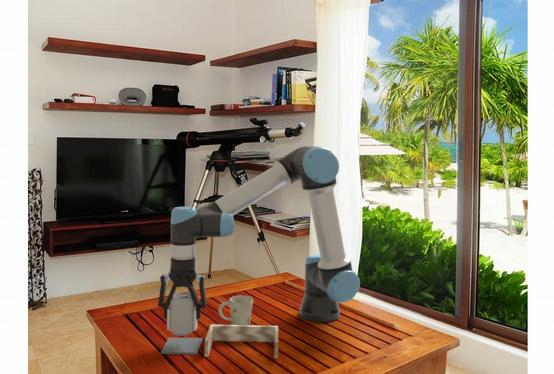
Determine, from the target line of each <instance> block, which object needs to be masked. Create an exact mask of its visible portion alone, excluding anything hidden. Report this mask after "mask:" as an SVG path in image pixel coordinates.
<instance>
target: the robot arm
mask: <svg viewBox="0 0 554 374" xmlns="http://www.w3.org/2000/svg"><path fill="white" fill-rule="evenodd" d="M339 170H340V163H339V158H338V157H337V156H336V154H335V153H334V152H333V151H332V150H330V149H329V148H326V147H324V146H318V145H317V146H301V147H298V148H296V149H294V150H292V151H291V152H289V153H287V154H285V155H284V156H282V157H281V158H280V159H278V160H276V161H275V162H274V165H273V166H272V167H270V168H268V169H266V170H265V171H263V172H262V173H260V174H258V175H257V176H255V177H253V178H252V179H250V180H248V181H247V182H245V183H243V184H241V185H240V186H238V187H237V188H235V189H233V190H232V191H230V192H228V193H227V194H225V195H224V196H221V197H220V198H218V199H217V200H215V201H214V202H212V203H209V204H208V205H206V206H205V205H204V206H200V207H198V208H197V209H196V208H195V207H192V206H177V207H176V206H175V207H174V208H173V209H171V212H170V213H171V215H170V216H171V217H170V256H171V258H170V271H169V273H166V274H165V273H163V274H161V276H160V277H159V279H160V289H159V296H158V301H157V306H158V307H159V308H163V318H164V319H166V328H167V329H166V330H167V331H170V301H171V299H172V298H173V297H172V296H173V295H174V294H176V290H177V288H181V287H182V288H187V290H188V291H189V292H188V293H190V294H191V297H192V299H193V302H194V304H195V309H194V324H193V332H194V331H197V328H198V320H201V315H202V314H201V313H202V312H201V311H202V309H205V308H206V307H207V305H208V302H207V295H206V287H205V280H206V275H205V274H202V275H201V274H197V272H196V257H195V256H196V239H197V238H218V237H219V238H224V237H230V236H232V235H234V231H235V219H234V216H235V215H237V214H238V213H240V212H241V211H243V210H245V209H247V208H248V207H250V206H252V205H254V204H255V203H256V202H258V201H260V200H261V199H263V198H264V197H267V196H269V194H271V193H273V192H274V191H276V190H278V189H280V188H281V187H283V186H284V185H287V186H289V185H291V184H294V183H296V182H298V181H301V187H302V190H303V191H304V192H305V193H307V194H308V195H307V196H308V199H309V204H310V209H311V214H312V215H311V216H312V219H313V220H312V221H313V224H314V229H315V230H314V231H315V235H316V241H317V246H318V251H319V254H311V255H308V256H306V258H305V264H304V267H305V268H304V269H305V271H304V296H303V298H302V301H301V304H300V306H299V316H300V317H301V318H303V319H305V320H308V321H312V322H317V323H318V322H321V323H323V322H324V323H325V322H333V321H336V320H337V319H339V318H340V316H341V315H340V312H341V311H340V307H339V303H347V302H349V301H351V300H352V299H354V298H355V297H356V295H357V294H358V292H359V290H360V288H361V286H360V285H361V281H360V278H359V275H358V274H357V273H356V272H355V271H354V270H353V265H352V259H351V257H349V256H348V255H346V251H345V247H344V242H343V235H342V230H341V225H340V224H341V223H340V220H339V214H338V209H337V203H336V198H335V192H334V189H335V187H336V186H337V183H338V182H337V174H338V173H339ZM169 279H170V281H171V282H172V283H173V284H172V286H171V289H170V291H169V293H168V295H167V298H166V300H165V297H166V296H165V295H166V289H167V285H168V284H167V283H168V281H169ZM195 280H197V282H198V287H199V294H200V295H199V296H200V299H199V296H198V294H197V291H196V289H195V288H196V287H195V285H194V281H195Z"/></svg>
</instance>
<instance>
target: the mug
mask: <svg viewBox="0 0 554 374" xmlns="http://www.w3.org/2000/svg"><path fill="white" fill-rule="evenodd" d="M228 300H229V301H223V302H221V303H220V304H219V306H218V313H219V316H220V318H222V319H223V320H224V321H228V322H231V325H250V324H251V319H252V311H253V306H254V305H253V304H254V299H253V297H252V296H250V295H233V296H231V297H230V298H229V299H228ZM225 306H226V307H227V306H228V307H229V311H230V317H226V316H225V315H224V314H223V311H222V310H223V309H224V307H225Z"/></svg>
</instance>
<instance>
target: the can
mask: <svg viewBox="0 0 554 374" xmlns="http://www.w3.org/2000/svg"><path fill="white" fill-rule="evenodd" d="M172 297H173V298H172V299H171V301H170V305H169V307H170V330H169V332H171V333H172V334H173V335H174V336H178V337H179V336H180V337H182V336H183V337H184V336H188V335H190V334H192V333H193V332H194V331H193V324H194V309H195V304H194V302H193V299H192V297H191V294H190V292H185V291H184V292H175V293H174V295H173V296H172Z"/></svg>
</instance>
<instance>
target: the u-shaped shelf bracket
mask: <svg viewBox="0 0 554 374" xmlns="http://www.w3.org/2000/svg"><path fill="white" fill-rule="evenodd" d="M253 341H257V342H259V343H260V342H262V343H267V342H268V343H274V359H279V326H278V325H254V324H253V325H232V324H210V326H209V328H208V331H207V334H206V336H205V339H204V358H205V357H209V355H210V352H211V350H212V349H211V348H212V346H213V342H253ZM257 342H256V343H257Z"/></svg>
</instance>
